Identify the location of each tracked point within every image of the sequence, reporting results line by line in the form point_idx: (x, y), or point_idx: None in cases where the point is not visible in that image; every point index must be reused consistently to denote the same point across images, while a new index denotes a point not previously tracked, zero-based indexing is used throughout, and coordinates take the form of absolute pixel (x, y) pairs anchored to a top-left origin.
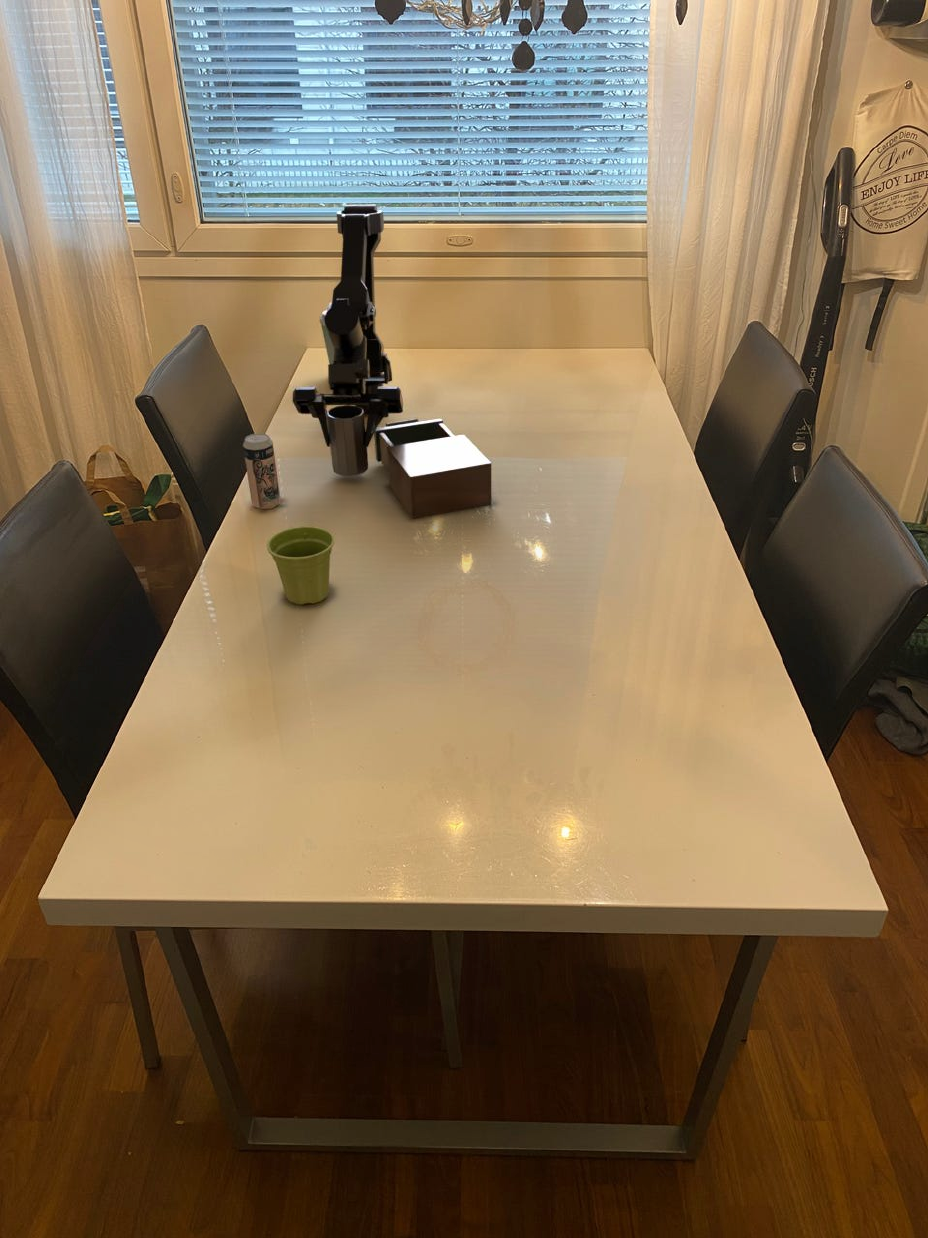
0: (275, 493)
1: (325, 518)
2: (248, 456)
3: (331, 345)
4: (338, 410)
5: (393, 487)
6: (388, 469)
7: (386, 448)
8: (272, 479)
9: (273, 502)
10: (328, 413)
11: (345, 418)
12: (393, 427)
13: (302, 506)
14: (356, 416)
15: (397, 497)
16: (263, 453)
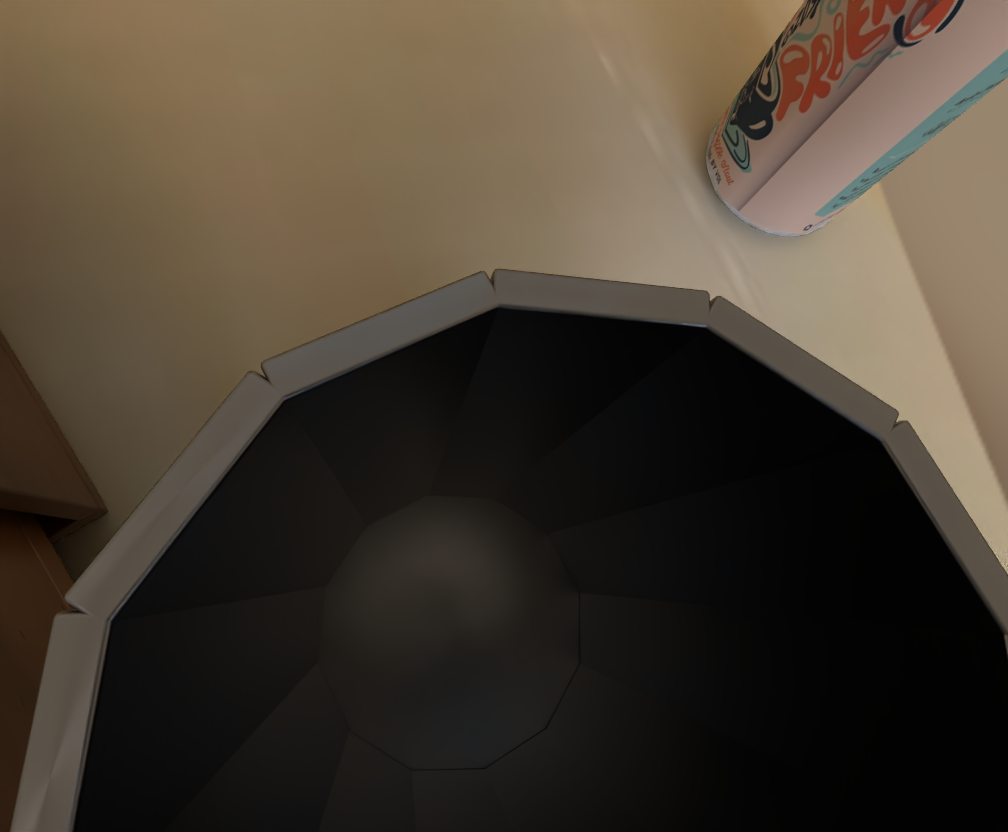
0: (744, 98)
1: (411, 71)
2: None
3: None
4: None
5: (30, 408)
6: (24, 487)
7: (8, 753)
8: (805, 12)
9: (725, 114)
10: (960, 541)
11: (440, 309)
12: None
13: (584, 180)
14: (171, 499)
15: (10, 349)
16: None
